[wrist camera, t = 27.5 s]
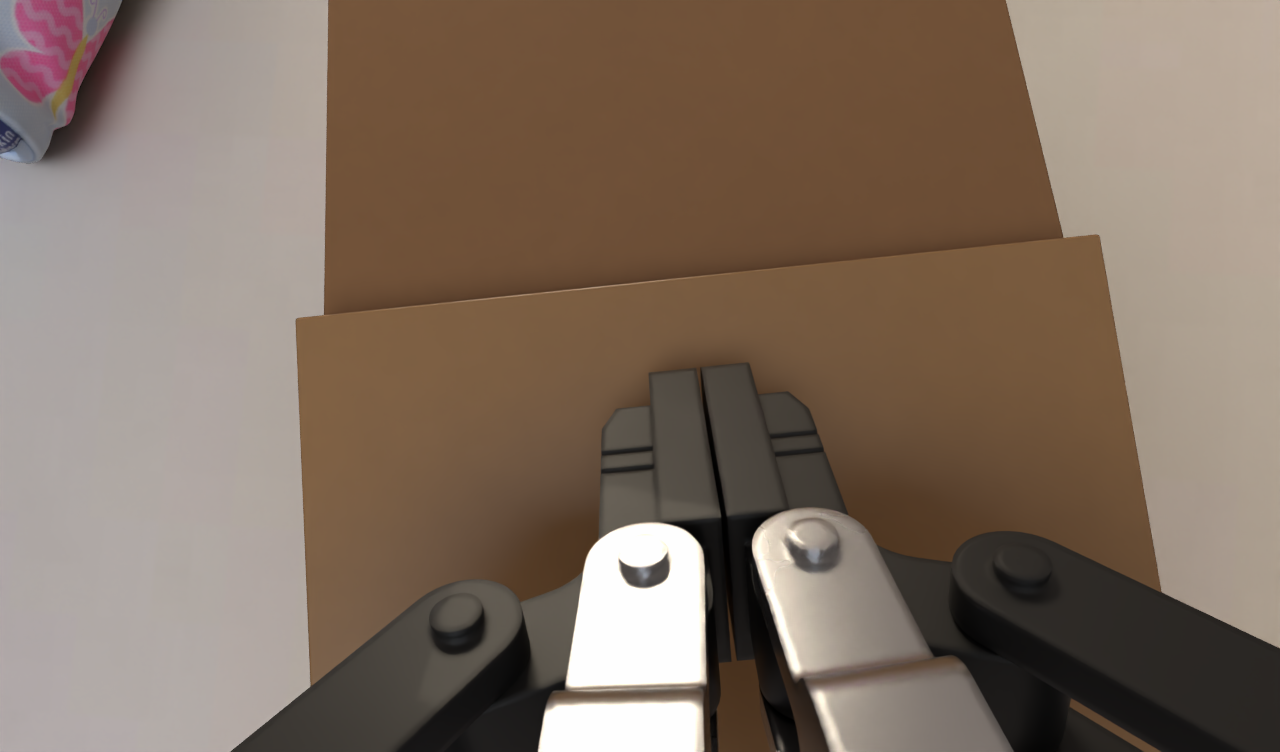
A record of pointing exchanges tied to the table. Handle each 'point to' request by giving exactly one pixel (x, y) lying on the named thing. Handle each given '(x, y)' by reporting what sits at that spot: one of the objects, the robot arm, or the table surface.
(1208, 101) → the table surface
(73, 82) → the pencil case
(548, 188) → the carton
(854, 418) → the flap
